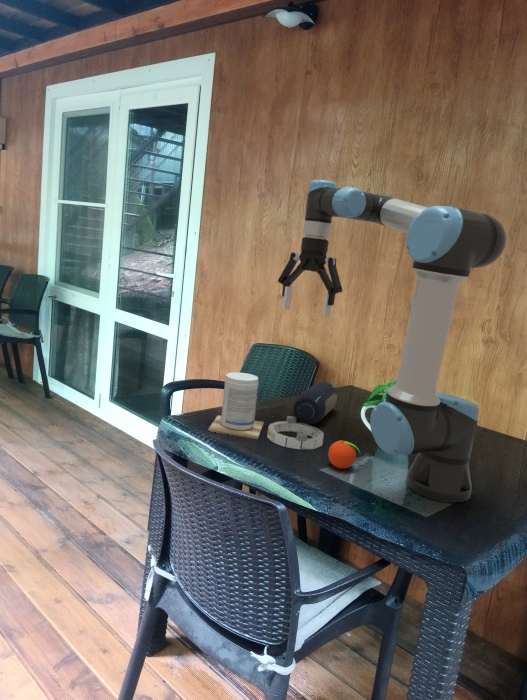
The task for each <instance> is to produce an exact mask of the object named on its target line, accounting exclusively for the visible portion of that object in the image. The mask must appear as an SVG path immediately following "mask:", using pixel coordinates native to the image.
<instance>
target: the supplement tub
mask: <svg viewBox="0 0 527 700" xmlns="http://www.w3.org/2000/svg"><path fill="white" fill-rule="evenodd" d="M258 391H259V377H258V376H257V375H254V374H252V373H251V374H250V373H247V372H235V371H234V372H229V373H226V375H225V379H224V389H223V396H222V408H221V416H222V417H221V423H222V425H223V426H225V427H227V428H230V429H234V430H247V429H250V428H252V427H253V426H254V421H256V420H255V417H256V410H257V402H258V401H257V400H258Z"/></svg>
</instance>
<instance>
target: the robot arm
mask: <svg viewBox="0 0 527 700" xmlns="http://www.w3.org/2000/svg"><path fill="white" fill-rule="evenodd" d="M306 195H307V197H306V198H307V199H306V207H305V214H304V221H303V229H302V235H303V236H304V237H302V238H301V245H300V251H301V252H300V253H299V252H291V253H290V257H289V260H288V262H287V264H286V265H285V267H284V269H283V271H282V272H281V274H280V276H279V278H278V279H277V283H279V284H281V285H282V291H281V292H282V293H281V297H283V302H282V303H283V304H282V309H283V310H288V309H289V310H290V308H291V301H292V295H293V294H292V293H293V286H292V284H293V283H294V282H295V281H296V280H297V279H298V278H299V277H300V276H301V275H302V274H303V273H304V272H305V271H311V272H314V273H315V272H316V273H317V274H318V275H319V277H320V279H321V281H322V283H323V285H324V287H325V289H326V290H327V293H325V294H324V295H325V296H324V303H323V308H322V317H323V318H329V317H330V316H331V315H330V314H331V309H332V306H334V304H335V299H336V295H337V294H338V293H339V294H341V293H342V292H343V287H342V283H341V279H340V276H339V272H338V269H337V258H336V257H327V253H328V250H329V249H328V248H329V243H330V241H329V240H328V239H329V238H330V234H331V227H332V221H333V218H342V219H343V218H345V219H349V220H354V221H356V220H357V221H362V222H369V223H373V224H378V225H380V226H383V227H387V228H390V229H393V230H396V231H399V232H402V233H405V234H406V236H405V237H406V238H405V239H406V240H405V248H406V249H407V254H408V255H409V258H411V259H412V260H413V262H412V271H413V273H414V275H415V276H416V277H417V279H416V285H415V288H414V295H413V298H412V303H411V309H410V311H409V312H410V314H409V317H408V322H407V326H406V333H405V336H404V343H403V347H402V352H401V357H400V362H399V366H398V367H399V368H398V370H397V371H398V372H397V375H396V380H395V384H393V385H392V386H390V387H388V388H387V390H386V394H385V395H386V396H385V400H384V401H383V402H382V401H381V402H380V403H378V404H377V405H376V406H374V407H373V409H371V413H370V418H369V419H370V420H369V423H370V431H371V434H372V437H373V438H374V441H375V444H377V446H378V447H379V448H380V449H381V450H382V451H383V452H385V453H386V454H388V455H391V456H392V455H393V456H409V455H413V454H417V455H416V456H415V458H414V460H413V462H412V464H411V465H410V467H409V469H408V471H407V473H406V480H405V484H406V486H407V487H408V489H410V490H412V491H413V492H414V493H416V494H418V495H420V496H423V497H424V498H427V499H431V500H433V501H437V500H438V501H439V502H442V501H443V502H442V503H449V502H454V503H453V504H456V503H455V502H461V503H465V502H467V501H469V500H470V499H471V495H472V490H473V487H472V486H473V485H472V481H471V480H472V479H471V474H470V473H471V471H470V460H471V454H472V450H473V444H474V441H475V437H476V436H475V435H476V431H477V428H478V427H477V426H478V423H479V413H480V408H479V406H478V405H477V404H476V403H475V402H472V401H471V400H468V399H465V398H463V397H459V396H457V395H452V394H450V393H445V392H439V391H436V389H437V385H438V380H439V376H440V372H441V368H442V363H443V359H444V354H445V350H446V345H447V341H448V336H449V332H450V326H451V323H452V318H453V313H454V309H455V305H456V301H457V296H458V291H459V287H460V285H461V284H462V283H463V282H464V281H467V280H468V279H469V278H470V273H471V269H480V268H484V267H488V266H490V265H491V264H493V263H494V262H496V261H497V260H498V259H499V258H500V257H501V256H502V254H503V252H504V250H505V247H506V244H507V232H506V230H505V228H504V226H503V224H502V223H501V222H500V221H499V219H497V218H496V217H494V216H493V215H491V214H487V213H482V212H478V211H477V212H476V211H472V210H467V209H465V208H464V209H463V208H459V207H455V206H451V205H449V206H446V205H445V206H443V205H433V206H429V207H428V206H423V205H420V204H416V203H413V202H410V201H409V202H408V201H405V200H401V199H398V198H396V197H393V196H390V195H384V194H379V193H372V192H368V191H362V190H361V189H359V188H357V187H349V186H345V187H337V183H336V182H334V181H330V180H326V179H324V180H323V179H313V180H311V181H310V183H309V188H308V192H307V194H306ZM298 261H299V262H300V263H298ZM297 263H298V264H297ZM325 264H326V265H327V268H328V271H329V274H328V273H327V269H326V267H325ZM296 265H297V266H296ZM295 267H296V268H295ZM329 275H330V276H329ZM468 499H469V500H468ZM438 501H437V502H438ZM444 501H445V502H444ZM464 501H465V502H464Z"/></svg>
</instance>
